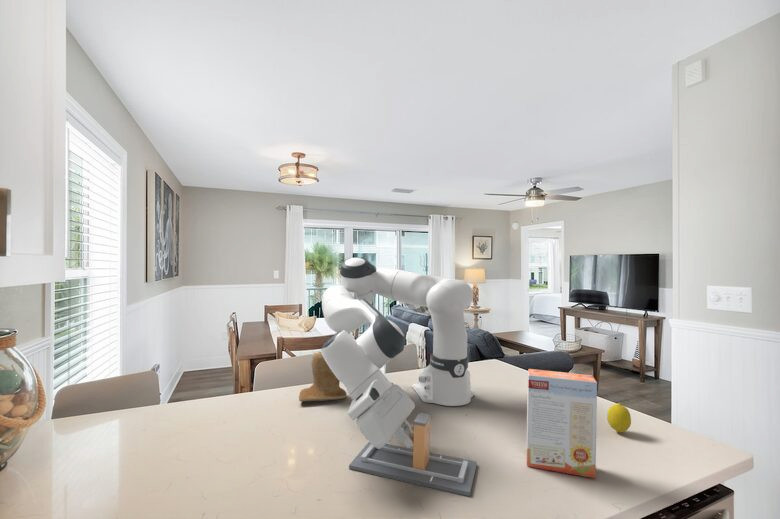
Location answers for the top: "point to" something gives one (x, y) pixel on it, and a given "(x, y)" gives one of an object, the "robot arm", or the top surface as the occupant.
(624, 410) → the lemon
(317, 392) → the tan ugg boot
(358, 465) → the grey fader base
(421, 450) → the fader cap
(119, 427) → the top surface
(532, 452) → the cracker box
